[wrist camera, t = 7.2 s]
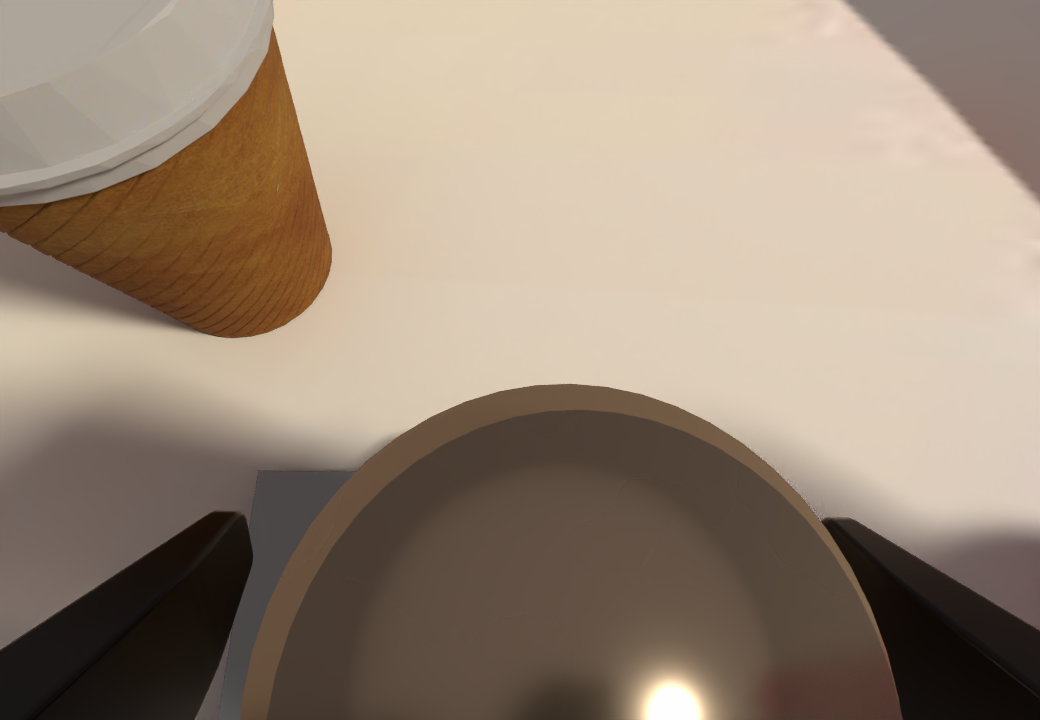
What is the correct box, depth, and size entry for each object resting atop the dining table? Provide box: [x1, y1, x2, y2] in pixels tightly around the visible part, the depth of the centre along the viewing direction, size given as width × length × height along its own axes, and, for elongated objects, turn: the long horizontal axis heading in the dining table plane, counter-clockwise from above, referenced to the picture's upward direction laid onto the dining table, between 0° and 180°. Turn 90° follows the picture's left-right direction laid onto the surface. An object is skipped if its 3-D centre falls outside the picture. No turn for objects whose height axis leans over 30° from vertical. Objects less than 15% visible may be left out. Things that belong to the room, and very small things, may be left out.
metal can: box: [240, 384, 903, 720], centre depth 10 cm, size 5×5×14 cm
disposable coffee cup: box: [0, 0, 332, 338], centre depth 15 cm, size 10×10×12 cm
